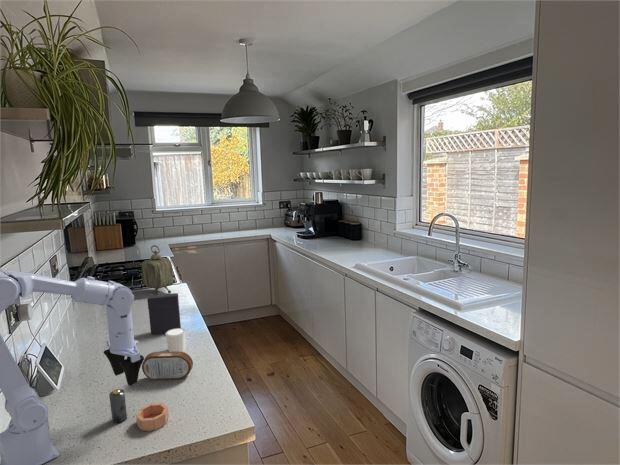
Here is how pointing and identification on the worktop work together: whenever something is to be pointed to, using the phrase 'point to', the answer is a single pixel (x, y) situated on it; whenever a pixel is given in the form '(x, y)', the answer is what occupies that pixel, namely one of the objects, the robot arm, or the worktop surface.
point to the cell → (118, 406)
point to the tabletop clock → (157, 272)
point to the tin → (167, 365)
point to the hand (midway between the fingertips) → (125, 378)
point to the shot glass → (176, 339)
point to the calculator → (163, 313)
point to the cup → (152, 417)
